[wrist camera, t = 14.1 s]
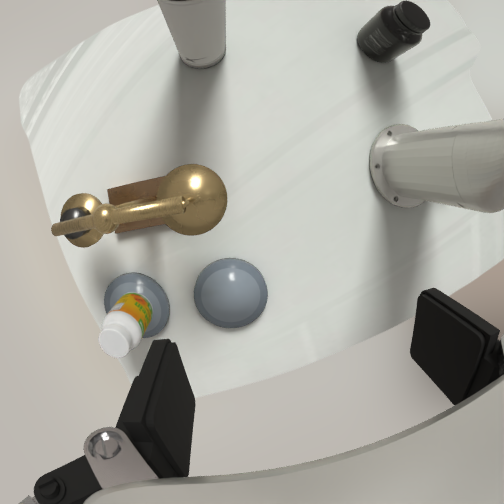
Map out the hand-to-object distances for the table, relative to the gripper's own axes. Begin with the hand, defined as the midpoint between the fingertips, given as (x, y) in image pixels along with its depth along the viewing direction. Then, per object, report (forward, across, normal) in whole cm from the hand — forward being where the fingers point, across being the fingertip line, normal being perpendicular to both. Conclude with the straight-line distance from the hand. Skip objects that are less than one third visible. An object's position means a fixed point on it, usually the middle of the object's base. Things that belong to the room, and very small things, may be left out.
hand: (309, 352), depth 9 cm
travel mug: (+28, +3, -25) cm, 38 cm away
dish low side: (+28, +18, +9) cm, 35 cm away
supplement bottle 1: (+27, +18, +9) cm, 34 cm away
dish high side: (+28, +4, +9) cm, 30 cm away
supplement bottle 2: (+28, -23, -26) cm, 45 cm away
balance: (+28, +12, -5) cm, 31 cm away
